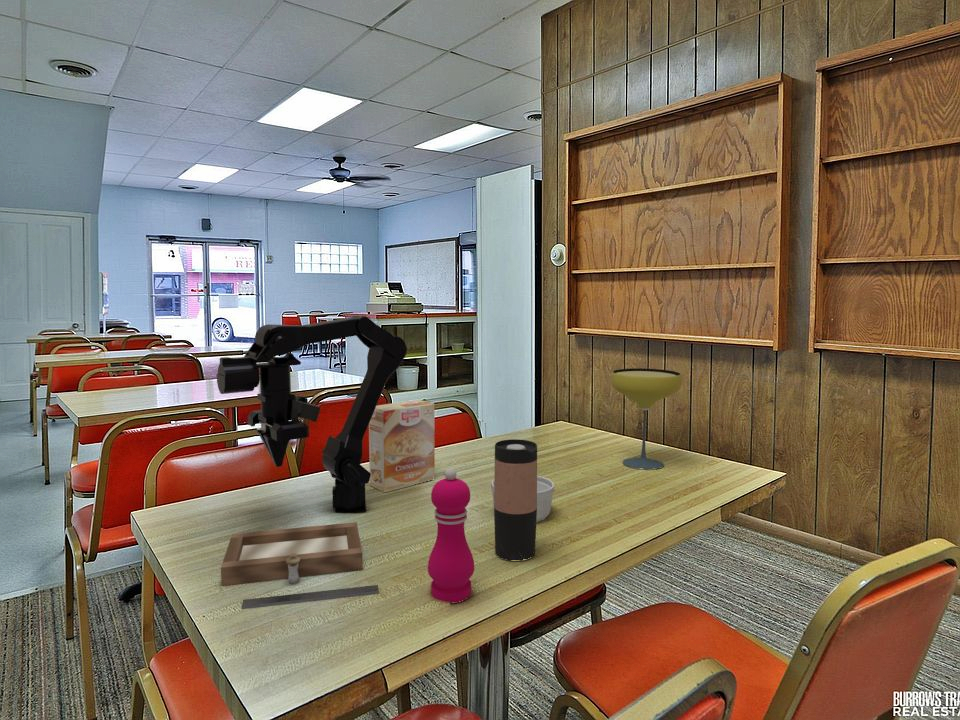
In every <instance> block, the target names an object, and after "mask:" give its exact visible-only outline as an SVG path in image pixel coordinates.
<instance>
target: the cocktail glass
mask: <svg viewBox="0 0 960 720" xmlns="http://www.w3.org/2000/svg"><path fill="white" fill-rule="evenodd" d="M610 382H611V386H612V387H613V388H614V389H615V391H617V392H618V393H620V394H622V396H625V397H627V398H628V399H631V400H632V401H634V402H635V403H636V404H637V405H638V407H639V408H640V409H641V410H642V411H643V424H642V443H641V452H640V457H631V458H626V459H624V460H623V461H622V464H623V465H624V466H625V465H626V467H627V466H629V467H628V468H630V467H634V468H643V469H653V468H660V467H662V468H664V467H663V465H664V466H665V463H663V462H662V461H660V460H657V459H653V458H648V457H647V453H646V452H647V451H646V431H647V430H646V429H647V427H646V425H647V424H646V423H647V422H646V421H647V420H646V419H647V411H649V410H650V409H651V408H652V407H653V405H654V404H655V403H657V402H658V401H661V400H664V399H666V398H668V397H670V396H672V395H675V393H676V392H678V391H679V390H680V388H681V386H682V382H683V380H682V374H681V373H680V372H678V371H675V370H669V369H659V368H643V367H642V368H638V367H637V368H636V367H635V368H633V367H632V368H619V369H614V370H613V371H612V372H611V376H610ZM634 468H633V469H634ZM660 469H661V468H660Z"/></svg>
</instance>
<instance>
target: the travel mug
mask: <svg viewBox="0 0 960 720" xmlns="http://www.w3.org/2000/svg"><path fill="white" fill-rule="evenodd" d="M493 474H494V477H493V479H494V504H493V512H494V514H493V515H494V519H493V520H494V521H493V523H494V549H495V550H494V553H495V555H496V554H497V555H498V556H499V557H500V559H501V558H503V559H507V560H523V559H528V558H530V557H532V556H533V557H535V554H536V541H537V537H536V536H537V535H536V534H537V522H536V519H537V476H538V445H537V443H536V442H534V441H531V440H527V439H519V438H518V439H514V438H513V439H504V440H503V439H501V440H499V441H497V442H495V444H494V473H493ZM497 555H496V556H497ZM498 556H497V557H498ZM499 557H498V558H499ZM533 557H532V558H533ZM503 559H502V560H503ZM507 560H506V561H507Z"/></svg>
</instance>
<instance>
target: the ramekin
mask: <svg viewBox="0 0 960 720" xmlns="http://www.w3.org/2000/svg"><path fill="white" fill-rule="evenodd" d="M490 490H491V492H492V502H493V503H492V504H493V505H494V478H493V479H492V480H491V483H490ZM554 492H555V483H554V482H553V481H552V480H551V479H549V478H547V477H544V476H540V475H537V519H536V523H538V522H537V521H540V522H542V521H544V520H545V519H546V518H547V517H548V516H549V515H550V512H551V509H552V501H553V495H554ZM543 519H544V520H543ZM541 520H542V521H541Z"/></svg>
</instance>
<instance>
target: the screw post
mask: <svg viewBox="0 0 960 720" xmlns="http://www.w3.org/2000/svg"><path fill="white" fill-rule="evenodd" d="M287 579H288V584H289V585H297V584H299V582H300V577H299V567H298V563H297V564H293V565H289V564H288V578H287Z"/></svg>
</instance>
